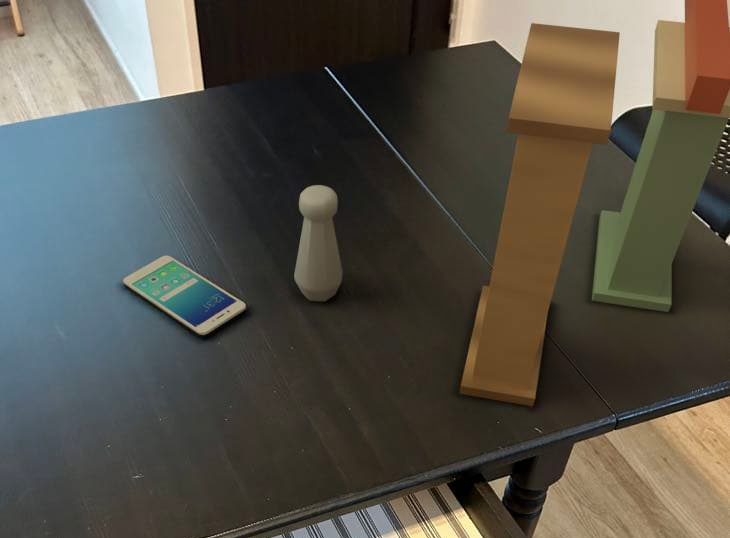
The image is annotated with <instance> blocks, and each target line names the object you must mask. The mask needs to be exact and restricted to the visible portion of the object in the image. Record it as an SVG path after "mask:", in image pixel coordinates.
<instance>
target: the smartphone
mask: <svg viewBox="0 0 730 538" xmlns="http://www.w3.org/2000/svg"><path fill="white" fill-rule="evenodd" d="M122 284H123V286H124V288H125V289H126V290H128V291H129V292H131V293H133V294H134V295H136V296H137V297H139V299H141V300H143V301H144V302H146V303H148V304H149V305H151V307H153V308H155V309H156V310H158V311H159V312H161V313H162V314H164V315H165V316H166V317H168V318H170V319H171V320H172V321H174V322H175V323H176V324H178V325H180V326H181V327H183V328H184V329H186V330H188V331H189V332H191V333H192V334H193V335H195V336H196V337H197V338H199V339H207V338H208V337H210V336H211V335H213V334H215V333H216V332H218V331H219V330H221V329H222V328H224V327H226V326H227V325H228V324H230V323H232V322H234V321H235V320H236V319H238V318H239V317H241V316H243V315H244V314H245V313H246V312H247V305H246V303H245V302H244V301H242V300H241V299H239V298H238V297H235V296H234V295H232V294H231V293H229V292H228V291H227V290H225V289H223V288H221V287H220V286H218V285H217V284H215V283H213V282H212V281H210V280H209V279H207V278H206V277H204V276H202V275H200V273H198V272H196V271H195V270H193V269H191V268H190V267H188V266H187V265H185V264H183V263H182V262H181V261H179V260H177V259H175V258H174V257H173V256H171V255H162V256H161V257H159V258H157V259H155V260H153V261H152V262H150V263H148V264H146V265H145V266H143V267H141V268H139V269H138V270H136V271H133V273H131V274H129V275H127V276H125V277H124V278H123V280H122Z"/></svg>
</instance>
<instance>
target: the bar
mask: <svg viewBox="0 0 730 538" xmlns="http://www.w3.org/2000/svg"><path fill="white" fill-rule="evenodd" d="M684 23H685V103H686V110H690V111H698V112H706V113H715V114H720V113H721V111H722V108H723V105H724V103H725V100H726V98H727V95H728V92H729V90H730V32H729V27H730V21H729V10H728V0H684Z"/></svg>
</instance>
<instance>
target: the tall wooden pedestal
mask: <svg viewBox="0 0 730 538" xmlns="http://www.w3.org/2000/svg"><path fill="white" fill-rule="evenodd" d="M620 35H621V33H620V32H619V31H613V30H611V31H610V30H603V29H602V30H601V29H594V28H593V29H591V28H582V27H575V26H574V27H573V26H562V25H554V24H543V23H535V22H531V24H530V27H529V31H528V36H527V40H526V43H525V48H524V52H523V56H522V61H521V65H520V69H519V73H518V78H517V82H516V86H515V90H514V94H513V98H512V102H511V106H510V110H509V115H508V120H507V126H506V130H505V131H506V133H510V134H517V140H516V145H515V151H514V155H513V162H512V167H511V172H510V177H509V182H508V186H507V187H508V188H507V192H506V197H505V203H504V207H503V208H504V209H503V214H502V219H501V224H500V228H499V229H500V230H499V233H498V240H497V245H496V250H495V255H494V260H493V265H492V271H491V276H490V282H489V285H482V287H481V294H480V298H479V302H478V307H477V310H476V316H475V320H474V324H473V329H472V334H471V337H470V343H469V346H468V351H467V356H466V362H465V364H464V368H463V369H464V370H463V374H462V378H461V383H460V388H459V395H463V396H464V395H465V396H470V397H476V398H482V399H489V400H493V401H499V402H504V403H505V402H506V403H511V404H515V405H516V404H517V405H521V406H528V407H534V404H535V401H536V397H537V389H538V383H539V377H540V376H539V375H540V369H541V361H542V354H543V347H544V340H545V333H546V326H547V319H548V313H549V309H550V305H551V303H552V298H553V294H554V290H555V288H556V287H555V286H556V283H557V279H558V275H559V272H560V268H561V264H562V262H563V261H562V260H563V256H564V253H565V249H566V246H567V242H568V238H569V235H570V230H571V228H572V223H573V219H574V216H575V212H576V210H577V209H576V208H577V204H578V201H579V197H580V193H581V190H582V186H583V183H584V178H585V176H586V172H587V167H588V164H589V160H590V156H591V152H592V148H593V145H594V144H598V145H604V146H606V145H607V144H608V142H609V138H610V136H611V132H612V123H613V111H614V100H615V90H616V89H615V88H616V78H617V68H618V57H619V45H620V44H619V43H620Z"/></svg>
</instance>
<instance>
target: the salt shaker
mask: <svg viewBox="0 0 730 538" xmlns="http://www.w3.org/2000/svg"><path fill="white" fill-rule="evenodd" d="M298 200H299V201H298V207H299V208H298V209H299V212H300V213H301V215H302V216H303V222H302V227H301V234H300V238H299V239H300V240H299V246H298V250H297V251H298V252H297V256H296V263H295V267H294V276H293V278H294V282H295V283H296V285H297V287H298V288H299V290H300V292H301V294H302V295H303V296H304V297H306V298H307V299H308V300H309V301H311V302H326V301H328V300H329V299H331V298H333V297H334V296H335V295H336V294H337V292H338V290H339V288H340V285H341V284H342V280H343V267H342V261H341V257H340V250H339V246H338V241H337V236H336V230H335V226H334V220H333V217H334V216H335V215H336V214H337V212H338V204H339V203H338V202H339V200H338V195H337V193H336V192H335V190H334V189H333V188H331V187H329V186H327V185H323V184H314V185H311V186H308V187H305V189H304V190H303V191H302V192H300V194H299V199H298Z"/></svg>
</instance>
